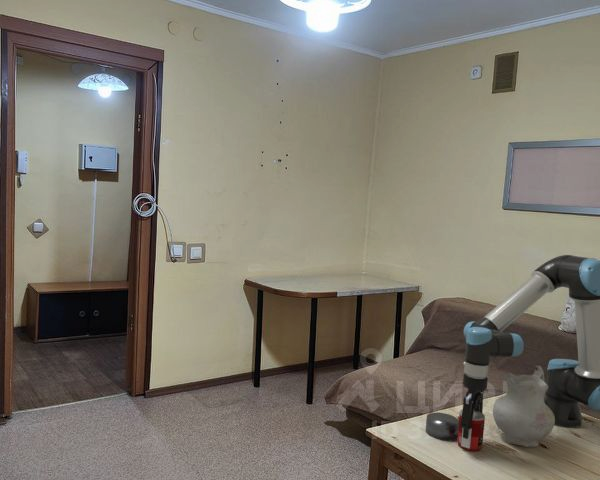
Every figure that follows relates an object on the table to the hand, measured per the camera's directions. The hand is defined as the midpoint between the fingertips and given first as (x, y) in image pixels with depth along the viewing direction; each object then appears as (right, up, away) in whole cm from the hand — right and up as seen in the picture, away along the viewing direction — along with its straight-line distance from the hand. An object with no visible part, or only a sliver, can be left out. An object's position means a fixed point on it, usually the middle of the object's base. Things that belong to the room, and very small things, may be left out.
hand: (469, 442), depth 170 cm
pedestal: (-7, 0, +9) cm, 11 cm away
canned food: (0, -1, 0) cm, 1 cm away
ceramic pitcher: (+21, -2, +8) cm, 22 cm away
